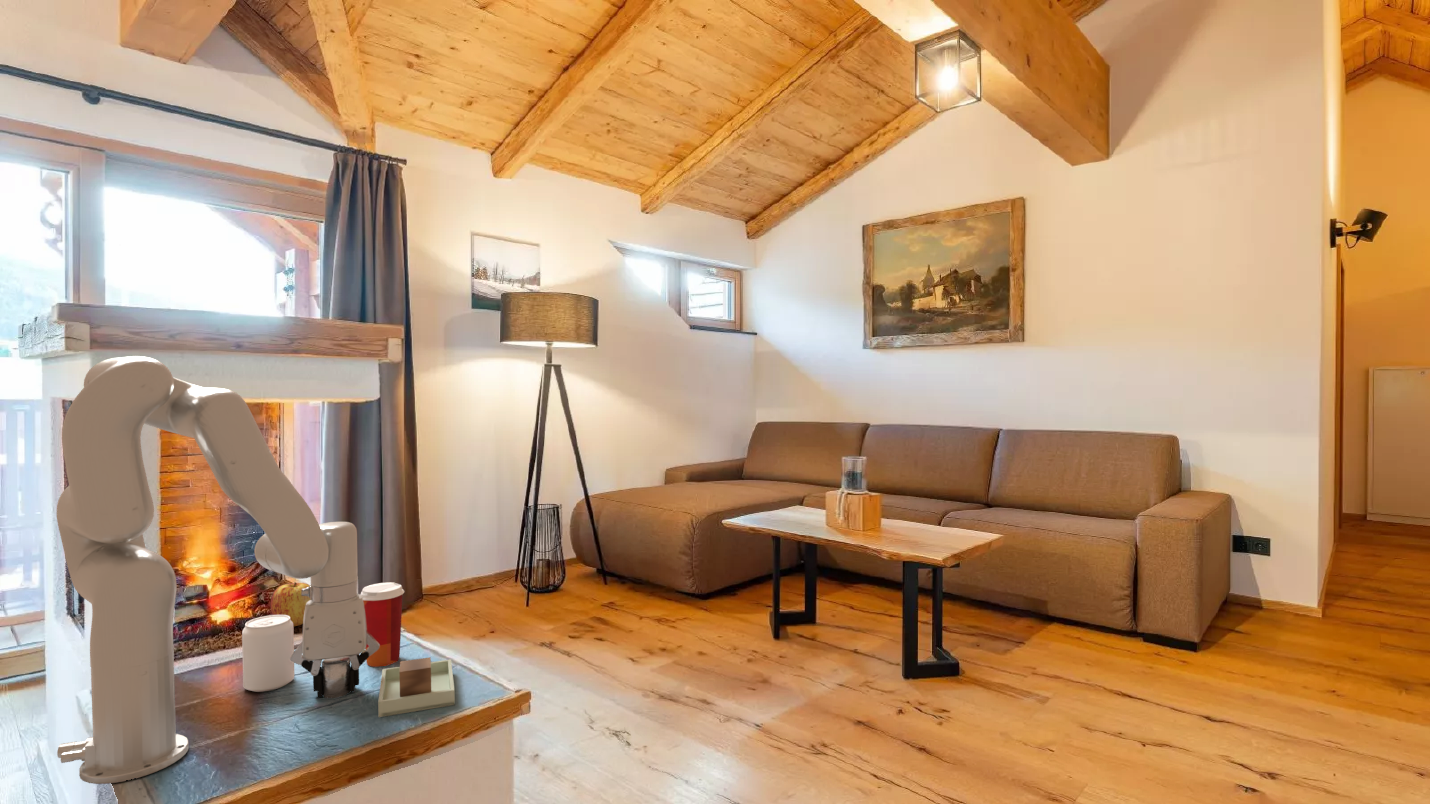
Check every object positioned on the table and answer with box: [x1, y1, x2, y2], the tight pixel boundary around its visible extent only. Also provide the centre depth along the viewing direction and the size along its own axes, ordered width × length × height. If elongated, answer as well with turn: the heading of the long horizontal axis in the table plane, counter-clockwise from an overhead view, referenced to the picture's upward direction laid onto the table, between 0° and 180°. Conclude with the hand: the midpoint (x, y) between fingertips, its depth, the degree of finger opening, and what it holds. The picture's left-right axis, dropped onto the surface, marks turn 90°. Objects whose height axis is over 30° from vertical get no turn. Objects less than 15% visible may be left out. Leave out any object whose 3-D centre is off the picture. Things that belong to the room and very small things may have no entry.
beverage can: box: [241, 614, 296, 693], centre depth 133 cm, size 8×8×12 cm
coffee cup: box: [359, 581, 405, 668], centre depth 144 cm, size 8×8×15 cm
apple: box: [270, 582, 311, 628], centre depth 166 cm, size 9×9×10 cm
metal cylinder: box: [321, 656, 351, 700], centre depth 130 cm, size 4×4×6 cm
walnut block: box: [399, 656, 432, 697], centre depth 126 cm, size 5×5×6 cm
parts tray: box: [377, 658, 456, 718], centre depth 129 cm, size 12×15×3 cm
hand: (336, 690), depth 130 cm, fingers closed on metal cylinder, 4 cm apart
